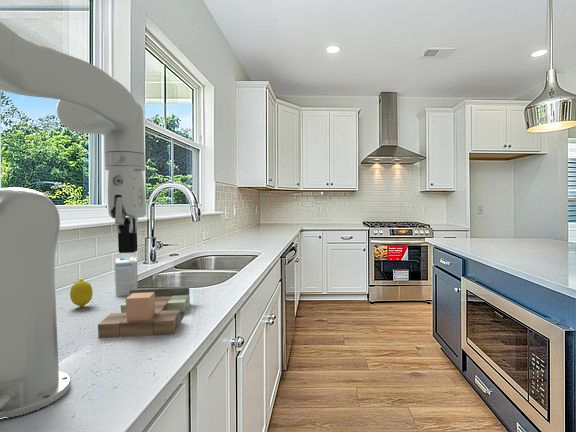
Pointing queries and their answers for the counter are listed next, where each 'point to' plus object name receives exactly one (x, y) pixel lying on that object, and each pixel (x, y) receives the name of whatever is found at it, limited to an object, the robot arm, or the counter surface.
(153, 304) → the block
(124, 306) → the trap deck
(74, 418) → the counter surface
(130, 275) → the light bulb box
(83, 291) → the lemon
